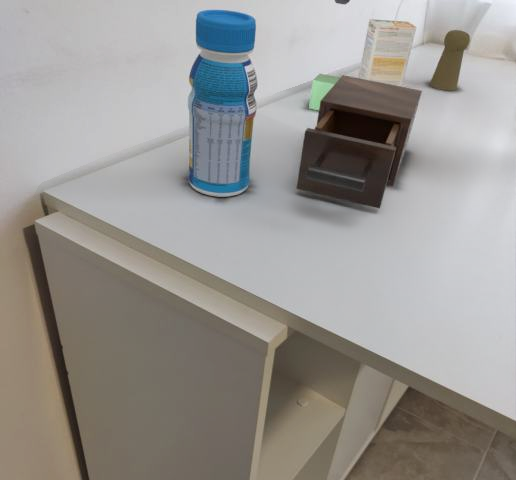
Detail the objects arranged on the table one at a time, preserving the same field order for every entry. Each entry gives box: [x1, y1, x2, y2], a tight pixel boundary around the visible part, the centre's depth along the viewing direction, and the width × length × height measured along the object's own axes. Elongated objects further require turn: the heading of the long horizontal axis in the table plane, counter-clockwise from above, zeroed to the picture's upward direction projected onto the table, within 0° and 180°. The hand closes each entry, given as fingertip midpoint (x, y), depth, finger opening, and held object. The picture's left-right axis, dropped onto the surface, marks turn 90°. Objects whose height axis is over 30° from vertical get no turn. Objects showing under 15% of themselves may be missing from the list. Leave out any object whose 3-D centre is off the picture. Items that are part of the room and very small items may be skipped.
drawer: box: [296, 108, 401, 209], centre depth 71 cm, size 19×11×8 cm, turn 161°
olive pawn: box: [429, 29, 471, 92], centre depth 117 cm, size 6×6×11 cm
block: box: [308, 73, 341, 112], centre depth 100 cm, size 5×5×5 cm
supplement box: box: [357, 18, 417, 87], centre depth 107 cm, size 8×5×13 cm, turn 100°
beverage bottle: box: [187, 9, 258, 198], centre depth 66 cm, size 8×8×20 cm
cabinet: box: [316, 74, 423, 187], centre depth 81 cm, size 15×13×10 cm
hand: (341, 2), depth 90 cm, fingers closed
